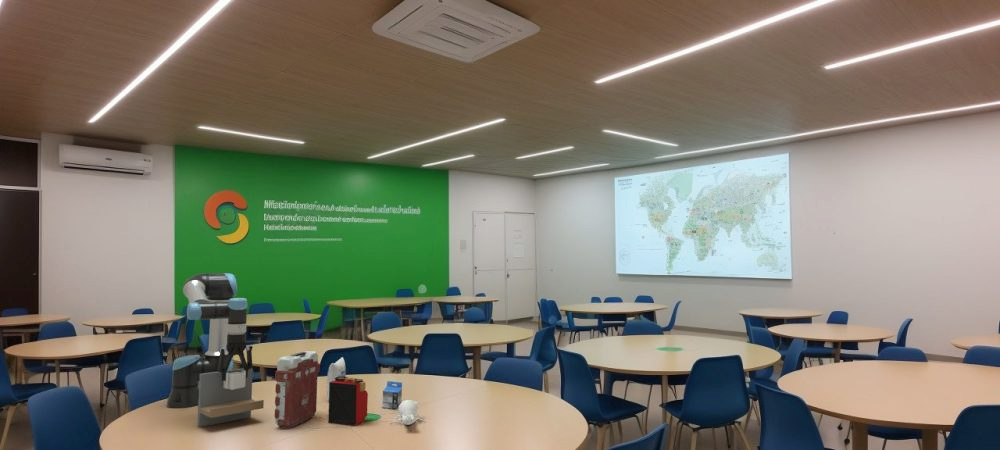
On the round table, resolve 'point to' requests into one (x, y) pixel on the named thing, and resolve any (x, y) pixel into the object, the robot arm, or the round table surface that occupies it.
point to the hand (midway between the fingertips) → (234, 386)
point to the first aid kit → (296, 388)
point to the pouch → (335, 372)
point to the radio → (347, 401)
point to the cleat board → (224, 399)
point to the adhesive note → (236, 380)
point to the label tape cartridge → (392, 395)
